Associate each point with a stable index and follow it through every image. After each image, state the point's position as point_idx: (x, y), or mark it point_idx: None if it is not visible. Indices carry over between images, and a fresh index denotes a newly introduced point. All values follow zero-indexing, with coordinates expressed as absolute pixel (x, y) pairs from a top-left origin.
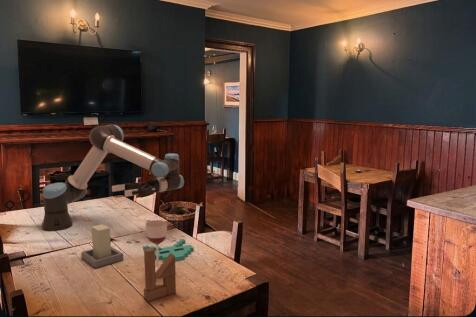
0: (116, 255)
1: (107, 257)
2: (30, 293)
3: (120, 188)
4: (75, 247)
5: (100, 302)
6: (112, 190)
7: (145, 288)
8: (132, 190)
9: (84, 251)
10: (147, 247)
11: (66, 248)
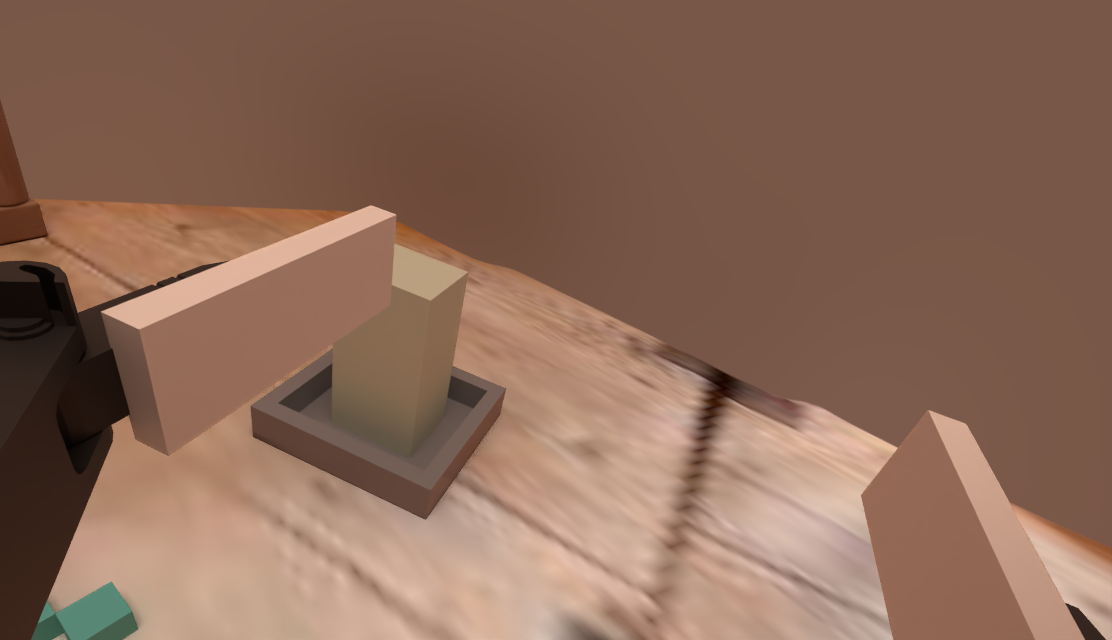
0: (284, 383)
1: (325, 361)
2: (455, 252)
3: (932, 637)
4: (656, 512)
5: (217, 227)
6: (885, 483)
7: (30, 201)
8: (256, 261)
9: (496, 395)
10: (75, 606)
11: (681, 489)
